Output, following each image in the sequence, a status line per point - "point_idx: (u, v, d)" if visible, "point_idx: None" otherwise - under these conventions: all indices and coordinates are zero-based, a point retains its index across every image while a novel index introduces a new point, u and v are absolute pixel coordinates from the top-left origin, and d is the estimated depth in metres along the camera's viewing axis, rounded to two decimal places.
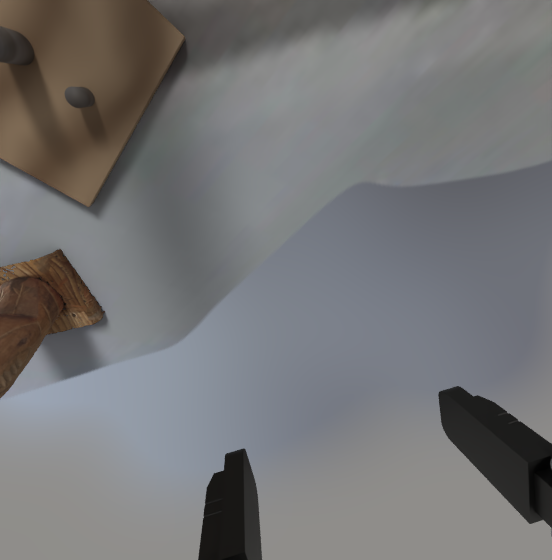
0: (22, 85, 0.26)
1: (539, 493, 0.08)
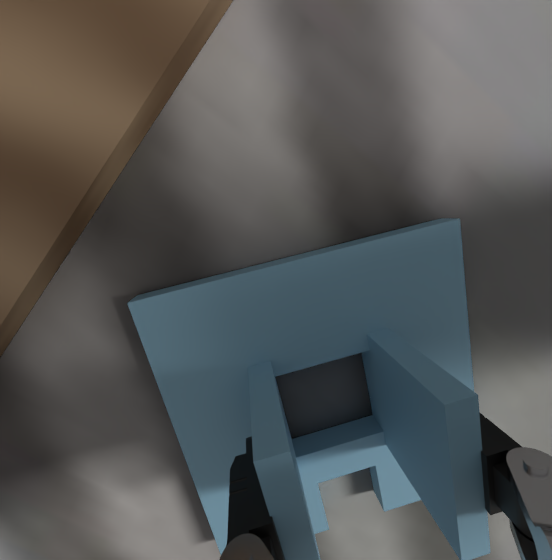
0: None
1: (497, 485, 0.08)
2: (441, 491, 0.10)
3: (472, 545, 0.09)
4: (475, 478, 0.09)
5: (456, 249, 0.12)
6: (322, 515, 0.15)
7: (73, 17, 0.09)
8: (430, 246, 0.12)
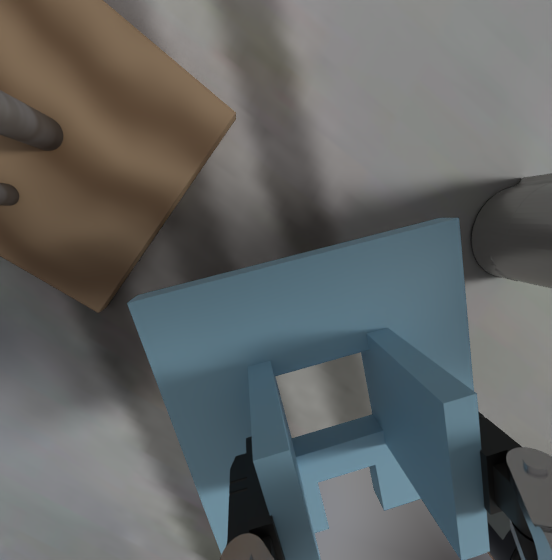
0: None
1: (497, 485, 0.08)
2: (440, 490, 0.10)
3: (472, 543, 0.09)
4: (474, 477, 0.09)
5: (455, 248, 0.13)
6: (322, 515, 0.15)
7: (170, 138, 0.23)
8: (429, 245, 0.12)
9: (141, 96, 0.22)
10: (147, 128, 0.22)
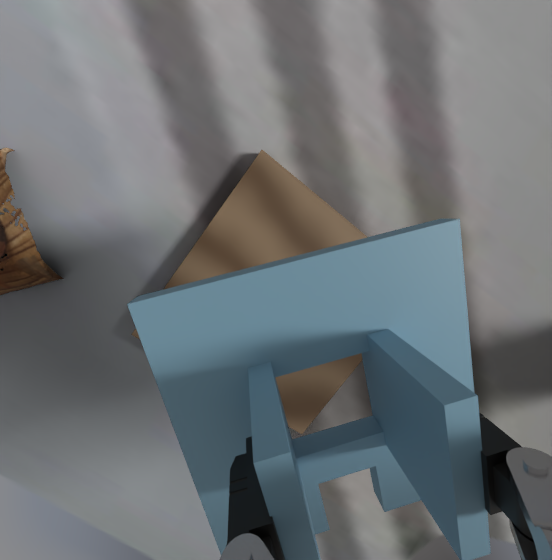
0: None
1: (497, 485, 0.08)
2: (441, 492, 0.10)
3: (472, 545, 0.09)
4: (475, 479, 0.09)
5: (456, 249, 0.13)
6: (322, 516, 0.15)
7: None
8: (430, 246, 0.12)
9: None
10: None
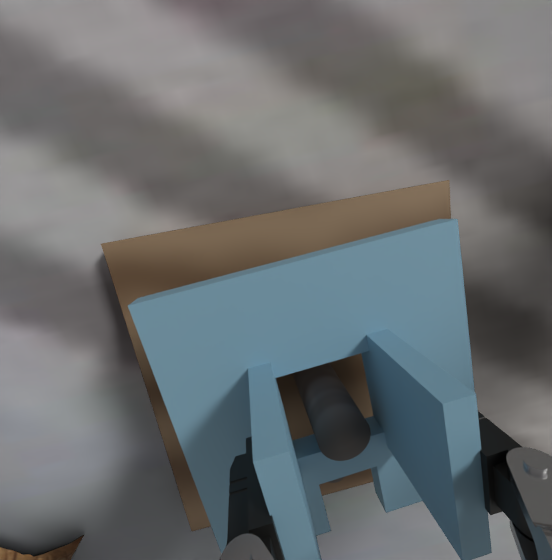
0: None
1: (497, 485, 0.08)
2: (441, 491, 0.10)
3: (473, 544, 0.09)
4: (475, 477, 0.09)
5: (454, 249, 0.13)
6: (324, 517, 0.15)
7: None
8: (428, 247, 0.12)
9: None
10: None
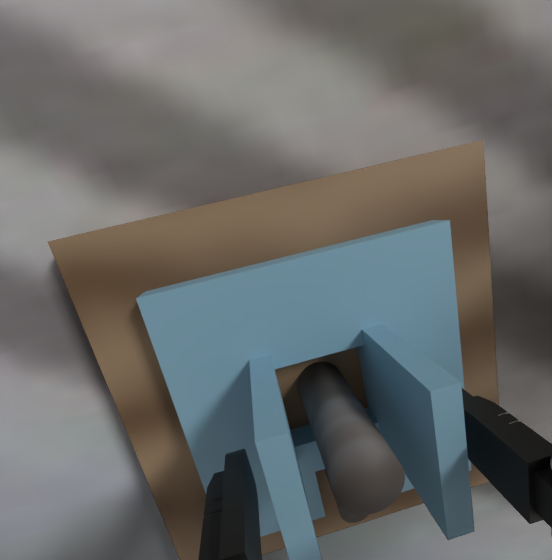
0: None
1: (539, 493, 0.08)
2: (429, 474, 0.10)
3: (457, 523, 0.10)
4: (459, 460, 0.09)
5: (446, 249, 0.13)
6: (319, 503, 0.15)
7: None
8: (422, 246, 0.13)
9: None
10: None
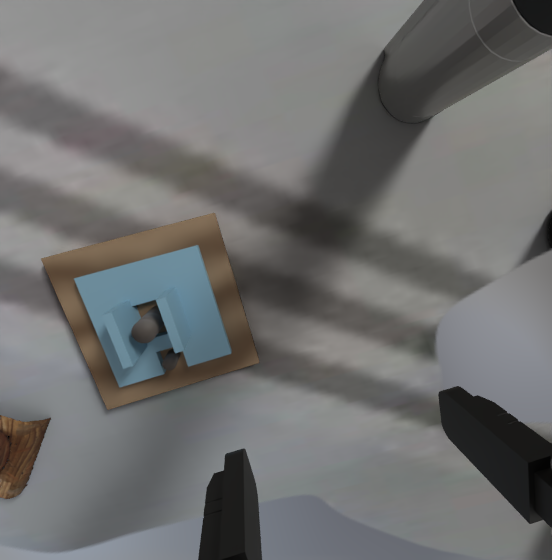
0: None
1: (539, 493, 0.08)
2: None
3: (177, 347, 0.30)
4: (171, 323, 0.30)
5: (197, 256, 0.34)
6: (160, 367, 0.36)
7: (202, 257, 0.35)
8: (187, 255, 0.34)
9: None
10: None
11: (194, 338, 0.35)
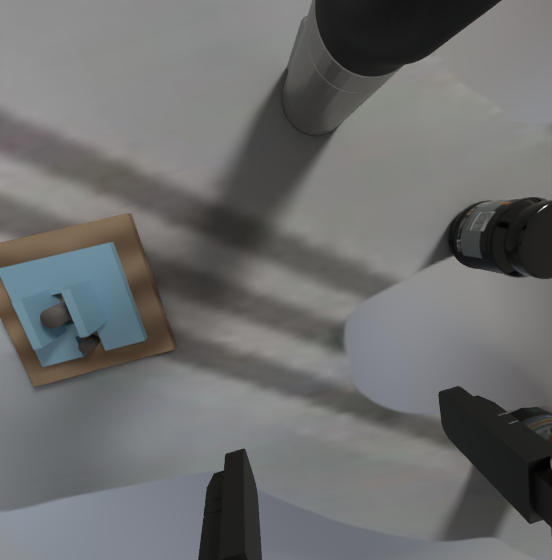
0: None
1: (539, 493, 0.08)
2: None
3: (81, 332, 0.34)
4: (76, 311, 0.34)
5: (110, 252, 0.38)
6: None
7: (117, 253, 0.39)
8: (100, 251, 0.37)
9: None
10: None
11: (110, 325, 0.40)
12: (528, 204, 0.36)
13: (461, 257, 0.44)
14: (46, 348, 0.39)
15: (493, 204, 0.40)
